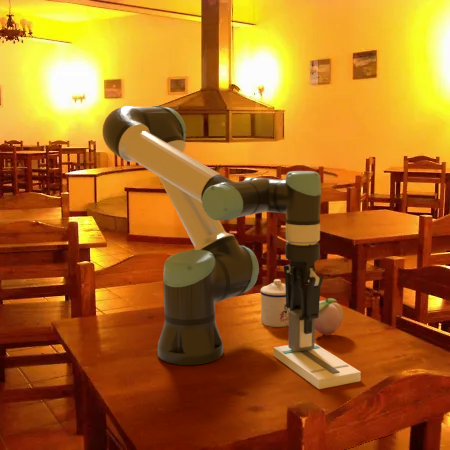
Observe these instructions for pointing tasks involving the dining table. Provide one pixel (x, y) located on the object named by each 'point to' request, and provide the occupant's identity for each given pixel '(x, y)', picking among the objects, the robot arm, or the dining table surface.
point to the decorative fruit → (328, 316)
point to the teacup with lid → (274, 305)
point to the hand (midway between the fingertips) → (301, 343)
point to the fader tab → (298, 331)
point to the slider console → (318, 366)
